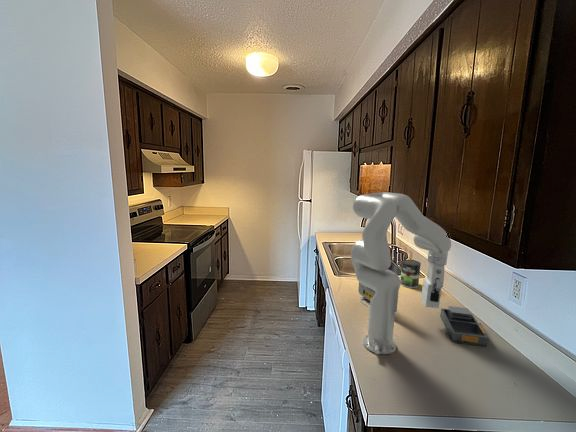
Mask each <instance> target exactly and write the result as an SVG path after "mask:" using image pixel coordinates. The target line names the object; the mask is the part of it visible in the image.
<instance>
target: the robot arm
mask: <svg viewBox="0 0 576 432" xmlns="http://www.w3.org/2000/svg"><path fill="white" fill-rule="evenodd" d="M352 209H353V212H354V214H355V215H356V216H357V217H360V218H365V219H368V220H369V221H368V222H367V224H366V225H365V227H364V228H363V231H362V233H361V238H362V239H360V240H357V241H355V242H354V243H353V245H352V246H351V250H350V259H351V262H352V267H353V270H354V273H355V277H356V280H357V281H358V283H359V282H360V283H361V284H362V285H364V286H366V287H368V288H370V289H372V290H374V291H375V295H374V296H373V297H372V298H371V300H370V301H369V304H370V308H368V325H367V326H368V328H367V335H365V336H364V337H363V340H362V344H363V346H364V348H366V349H367V350H369V351H371V352H372V353H374V354H376V355H391V354H394V353H395V352H396V351H397V343H396V341H395V340H394V339H393V338H394V327H395V317H396V316H395V315H396V314H395V306H396V299H397V294H398V295H399V292H398V291H400V287H401V284H400V281H401V277H400V276H399V275H398V274H396V273H395V272H394V271H393V270H391V269H389V268H390V266H391V265H392V258H391V252H390V246H389V242H388V235H387V233H388V229H389V227H390V226H391V223H392V222H393V220H394V218H395V219H396V220H397V221H398V222H399V224H401V225H402V227H403V228H404V230H406V231H407V232H409V233H410V234H413V235H414V237H413V243H414V245H415V246H416V247H417V248H418V249H422V250H426V251H428V254H427V259H426V262H427V263H428V269H427V270H428V271H427V277H426V279H428V281H429V282H430V284H431V286H432V292H431V297H430V301H434V302H438V301H439V293H440V287H441V289H443V288H444V281H445V266H446V265H447V262H448V261H447V260H448V255H449V252H450V251H451V248H452V240H451V237H450V238H448V236H447V233H448V232H447V233H446V230H445V229H444V228H443V227H441V226H440V225H439V224H437V223H436V222H434V221H432V220H431V219H429V218H428V217H426V216H424V215H423V213H422V212H421V210H420V209H419V207H418V206H417V205H416V204H415V202H414V201H413V199H411V197H410V196H408V195H406V194H403V193H397V192H389V191H386V192H385V191H383V192H376V193H367V194H360V195H359V196H358V197H356V198H355V199H354V202H353V205H352ZM446 236H447V237H446ZM434 284H436V285H434ZM434 287H436V288H435V289H434Z"/></svg>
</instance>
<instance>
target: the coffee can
mask: <svg viewBox="0 0 576 432" xmlns="http://www.w3.org/2000/svg"><path fill="white" fill-rule="evenodd" d="M421 266H422V263H421V262H420V261H419V260H418V261H417V260H416V259H401V272H400V286H402V287H404V288H408V289H416V288H419V284H420V283H419V281H420V274H421Z"/></svg>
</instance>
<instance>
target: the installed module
mask: <svg viewBox="0 0 576 432" xmlns="http://www.w3.org/2000/svg"><path fill="white" fill-rule="evenodd" d="M447 309H448V314H447V318H448V319H449V320H456V321H464V322H471V319H472V314H473V313H472V312H471V310H470V309H469V308H467V307H459V306H452V305H451V306H450V305H448V307H447ZM471 313H472V314H471Z"/></svg>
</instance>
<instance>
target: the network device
mask: <svg viewBox="0 0 576 432" xmlns="http://www.w3.org/2000/svg"><path fill="white" fill-rule="evenodd" d="M357 291H358V293H359V294H360V295H361V297H360V298H359V301H360V303H361V304H363V305H364V304H365V305H364V306H365V307H367V308H368V307H369V308H368V309H370V303H369V304H368V303H367V302H365V301H364V300H367V301H369V302H370V300H371V298H372V297H373V296H374V295H375V291H374V290H372V289H370V288H368V287H366V286H364V285H362V284H361V283H360V282H359V281H358V290H357ZM399 291H400V290H399ZM399 291H398V294H397V299H396V306H395V313H397V312H398V302H399Z"/></svg>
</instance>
